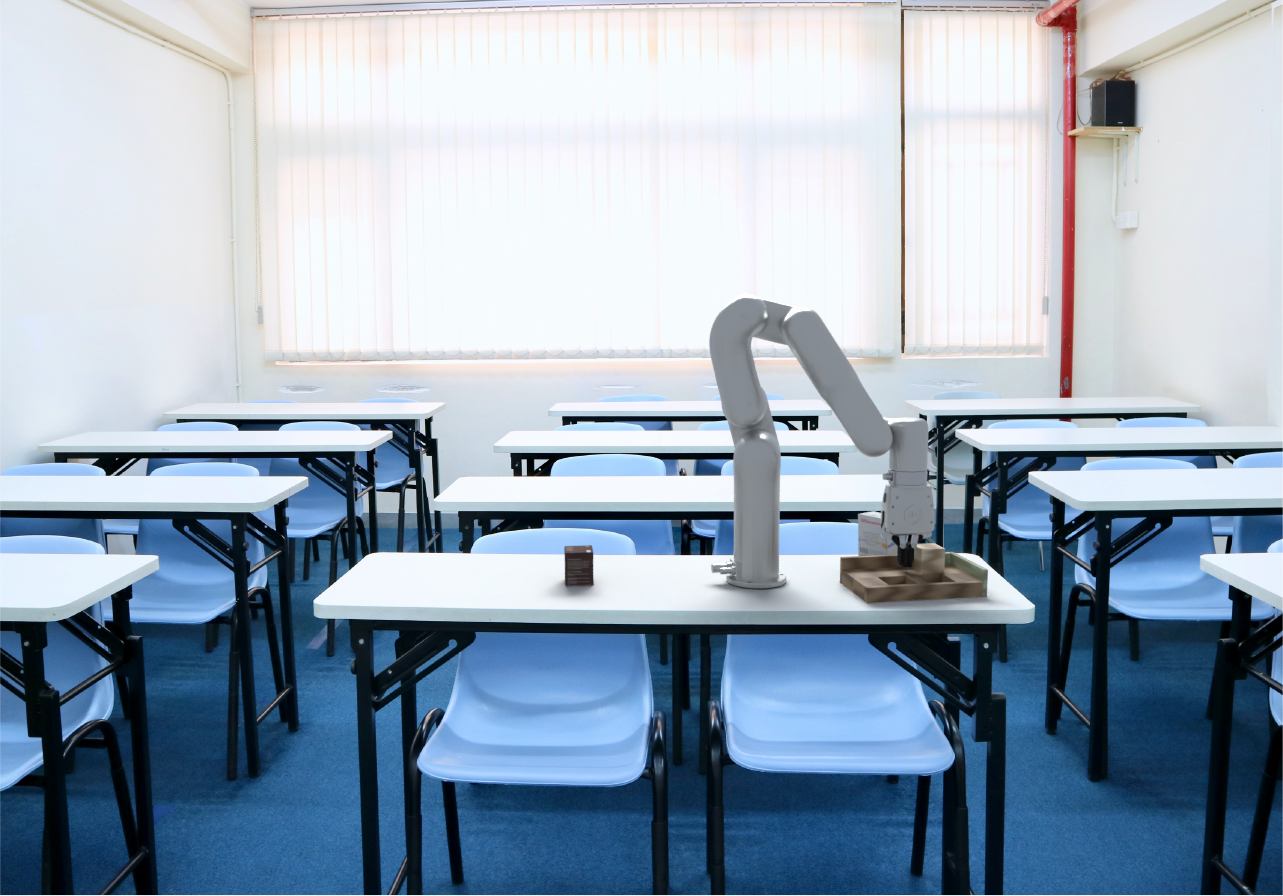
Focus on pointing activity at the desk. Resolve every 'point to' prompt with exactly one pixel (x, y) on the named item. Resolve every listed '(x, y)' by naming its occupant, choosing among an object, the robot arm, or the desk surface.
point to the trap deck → (911, 579)
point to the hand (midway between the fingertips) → (905, 565)
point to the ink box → (873, 536)
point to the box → (578, 565)
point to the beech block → (929, 558)
